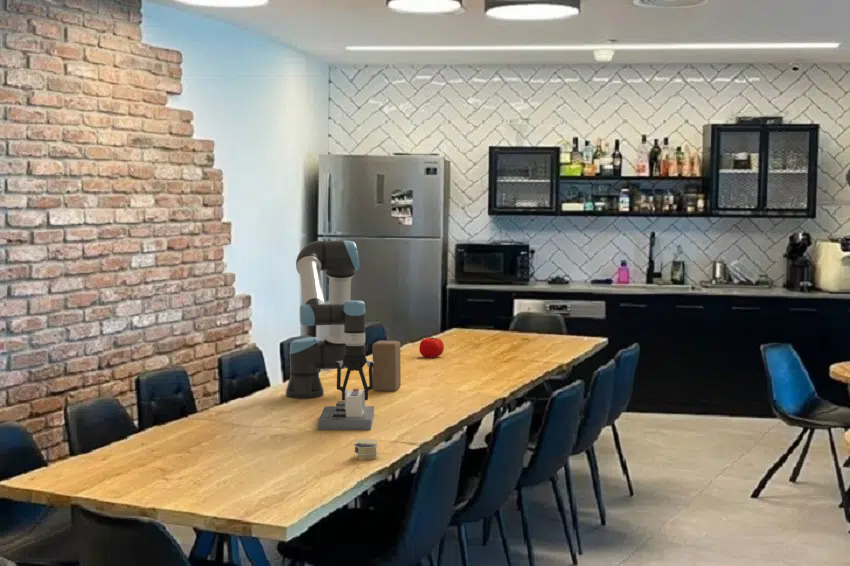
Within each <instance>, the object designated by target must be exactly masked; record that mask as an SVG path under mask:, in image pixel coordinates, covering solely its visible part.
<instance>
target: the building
mask: <svg viewBox="0 0 850 566" xmlns="http://www.w3.org/2000/svg"><path fill="white" fill-rule="evenodd" d="M377 440H378V439H375V438H374V439H373V438H356V439H353V441H354V442H355V443H354V444H353V446H354V450H353V452H354V454H356V455H357V460H360V461H363V460H375V459H377V455H378V451H377V448H378V445H377V443H378V441H377Z"/></svg>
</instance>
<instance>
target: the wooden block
mask: <svg viewBox="0 0 850 566" xmlns="http://www.w3.org/2000/svg"><path fill="white" fill-rule="evenodd" d="M372 361H373V362H374V364H373V367H372V370H373V389H372V390H373V391H374V392H396V391H397V390H399V389H400V388H401V386H402V385H401V384H402V383H401V370H402V369H401V342H400V341H399V340H378V341H376V342H373V344H372Z"/></svg>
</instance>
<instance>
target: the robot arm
mask: <svg viewBox="0 0 850 566" xmlns="http://www.w3.org/2000/svg"><path fill="white" fill-rule="evenodd" d="M359 259H360V257H359V253H358V248H357V244H356V242H355V241H352V240H345V239H343V240H316V241H312V242H309V243H307V244H306V245H305V246H303V248H302V249H301V250H300V251H299V253H298V255H297V258H296V259H295V266H296V272H297V273H298V275H299V276H300V285H301V286H300V287H301V292H302V299H303V304H302V305H300V306H299V322H300V324H301V326H310V327H314V326H315V327H316V326H327V327H328V328H327V329H328V330H327V331H328V332H326V334H325V335H324V337H323V338H324V340H320V339H319V337H317V336H309V337H308V336H307V337H302V338H297V339H294V340H292V341H291V342H290V343H289V344H290V345H289V379H288V383H287V386H286V390H285V396H286V397H287V398H290V399H300V400H301V399H303V400H304V399H305V400H306V399H317V398H321V397H323V396H324V395H325V394H324V386H323V385H322V384H323V383H322V382H321V379H320V372H319V371H320V370H336V389H337V390H338V391H340V392H341V401H345V410H346V395H347V393H348V390H349V389H348V390H346V388H347V385H348V382H349V379H350V374H351V372H352V371H357V372H358V373H359V377H360V380H361V383H362V387H363V389H362V390H363V392H362V394H363V410H365V406H366V401H368V399H369V391H371V390H373V364H374V362H373V360H368V359H367V357H366V345H365V344H366V311H367V310H366V303H365V302H364V301H363V300H356V299H355V300H354V299H351V296H352V295H351V294H352V293H351V292H352V290H351V288H352V279H353V277H355V274H356V272H357V271H359V269H360V260H359ZM321 271H322V272H323V271H325V276H327V278H328V280H329V281H328V282H329V283H328V287H329V288H328V303H327V304H325V303H326V302H325V298H324V290H323V285H322V284H323V283H322V278H321V273H320V272H321ZM365 365H366V366H367V368H368V383H367V380H366V377H365V374H364V370H363V367H365ZM344 369H346V373H345V378H344V380H343V383H342V384H341V382H342V370H344ZM341 385H342V386H341Z"/></svg>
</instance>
